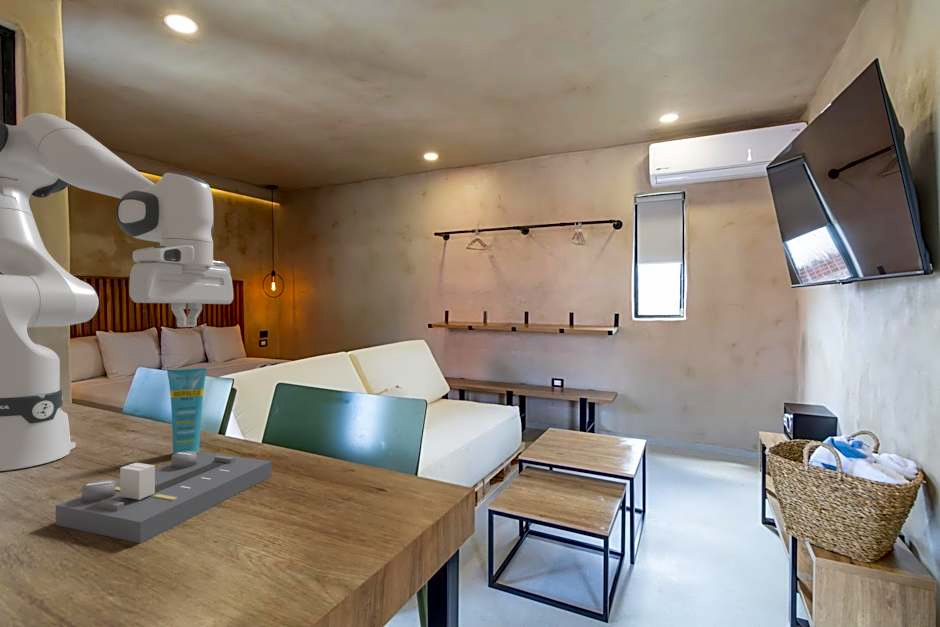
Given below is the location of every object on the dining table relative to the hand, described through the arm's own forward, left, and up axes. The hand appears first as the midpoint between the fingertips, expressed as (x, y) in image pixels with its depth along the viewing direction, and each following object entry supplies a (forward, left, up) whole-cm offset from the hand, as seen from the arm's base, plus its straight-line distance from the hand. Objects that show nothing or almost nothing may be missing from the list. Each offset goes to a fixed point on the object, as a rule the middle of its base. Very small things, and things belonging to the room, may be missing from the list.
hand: (186, 326), depth 88 cm
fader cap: (+9, -16, -26) cm, 32 cm away
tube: (-10, +9, -29) cm, 32 cm away
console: (+8, -9, -29) cm, 32 cm away
